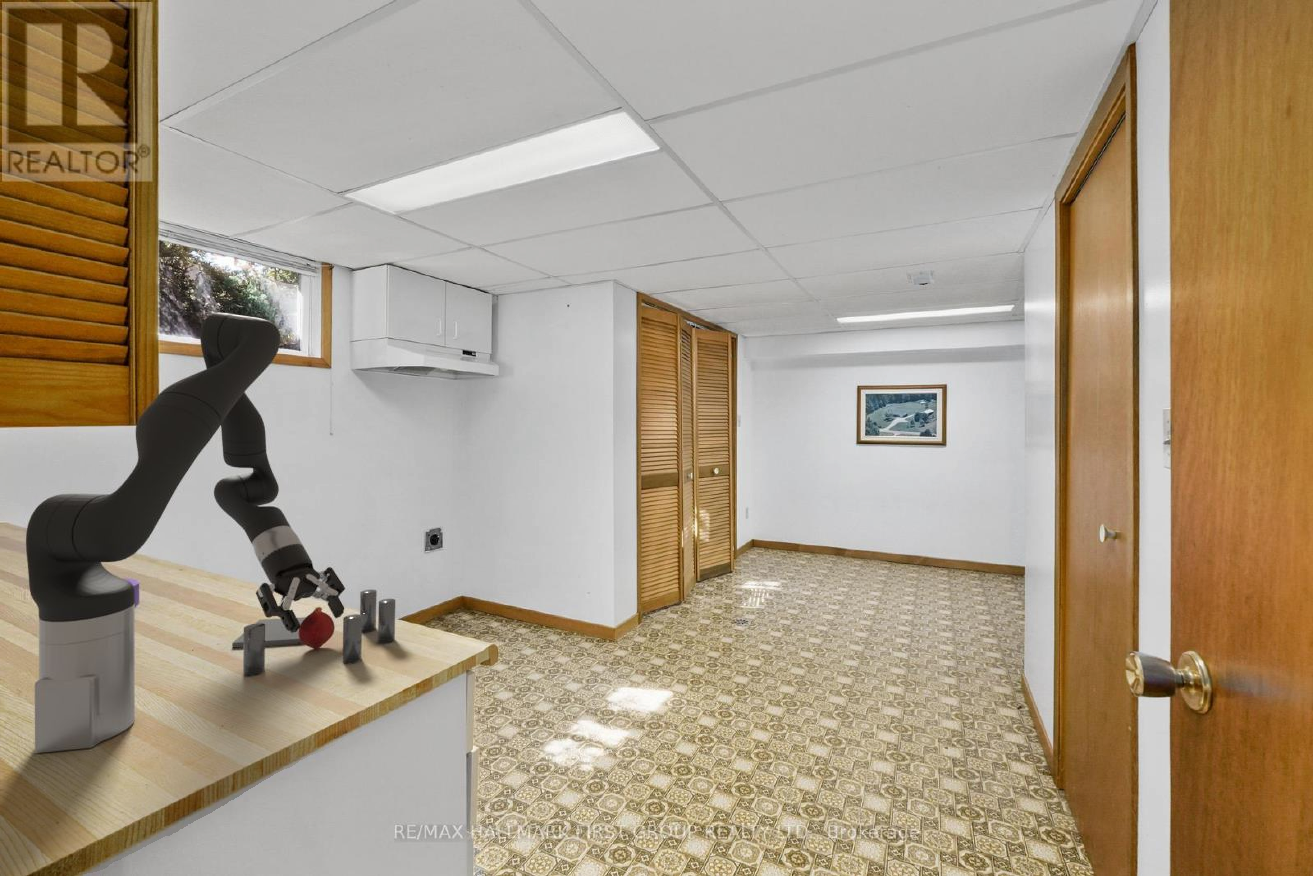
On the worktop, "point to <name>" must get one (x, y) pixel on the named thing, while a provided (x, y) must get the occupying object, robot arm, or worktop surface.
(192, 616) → the worktop surface
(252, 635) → the spacer field
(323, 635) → the onion
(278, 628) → the mat
